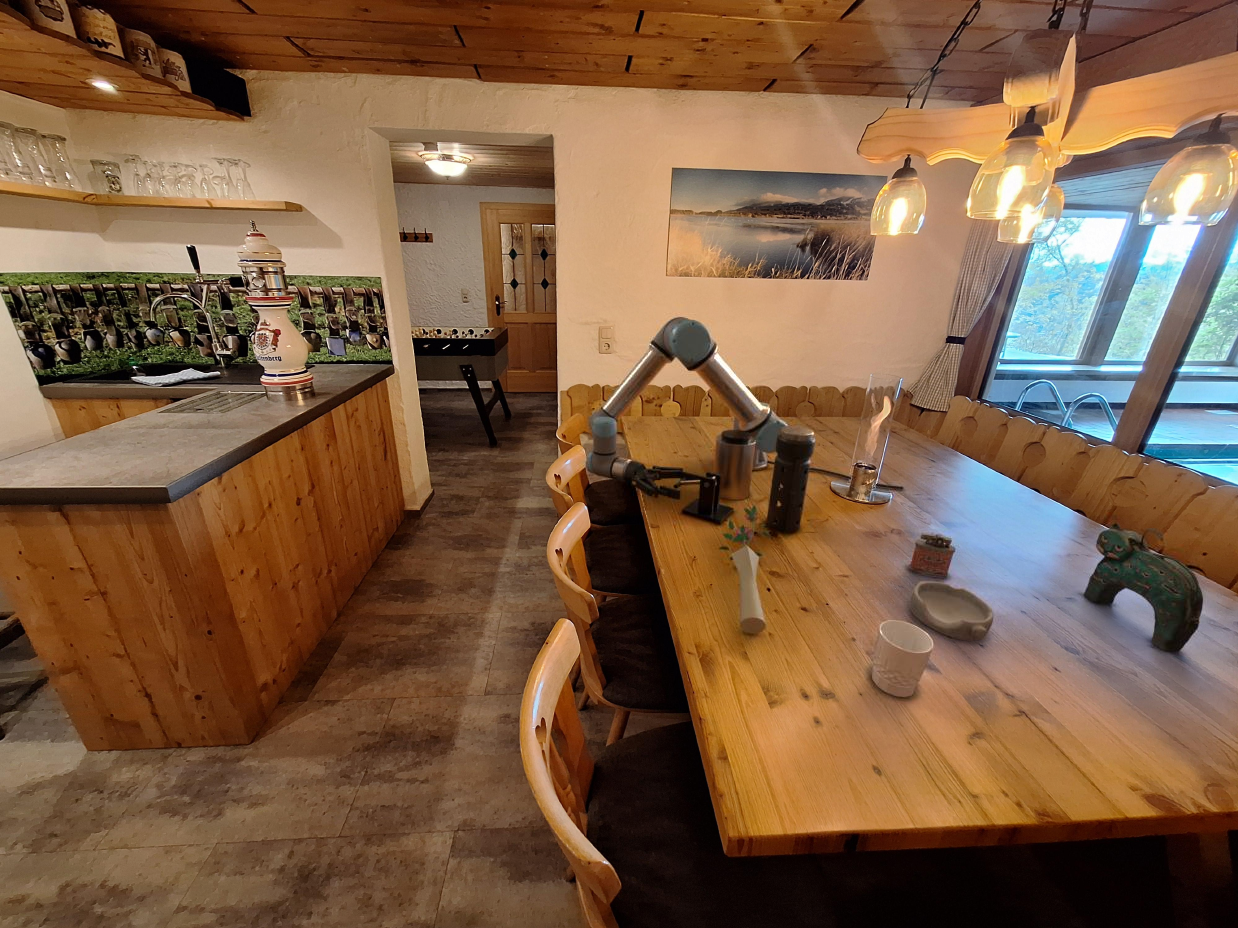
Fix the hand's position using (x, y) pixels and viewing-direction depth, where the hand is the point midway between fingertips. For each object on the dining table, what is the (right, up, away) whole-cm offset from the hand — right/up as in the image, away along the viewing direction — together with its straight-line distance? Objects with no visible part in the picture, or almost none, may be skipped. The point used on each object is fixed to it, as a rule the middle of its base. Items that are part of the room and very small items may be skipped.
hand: (690, 487), depth 144 cm
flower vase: (+7, -20, -34) cm, 40 cm away
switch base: (+5, -7, -1) cm, 9 cm away
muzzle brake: (+25, -11, -8) cm, 28 cm away
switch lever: (+2, 0, -1) cm, 2 cm away
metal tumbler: (+15, -2, +13) cm, 20 cm away
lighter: (+52, -19, -28) cm, 62 cm away
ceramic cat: (+84, -25, -43) cm, 98 cm away
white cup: (+26, -31, -60) cm, 72 cm away
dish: (+46, -25, -44) cm, 68 cm away
